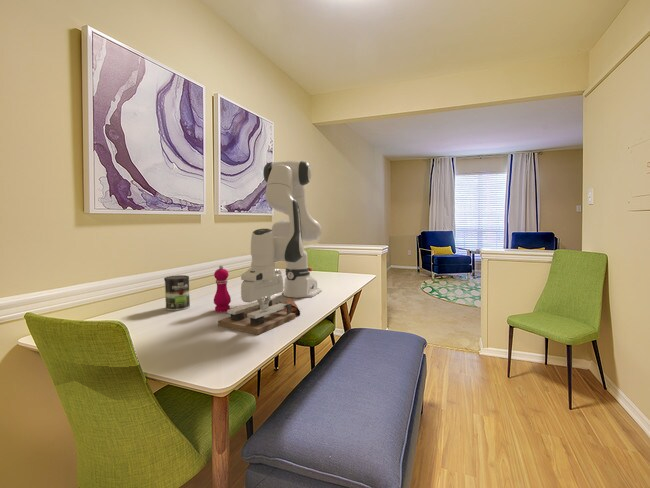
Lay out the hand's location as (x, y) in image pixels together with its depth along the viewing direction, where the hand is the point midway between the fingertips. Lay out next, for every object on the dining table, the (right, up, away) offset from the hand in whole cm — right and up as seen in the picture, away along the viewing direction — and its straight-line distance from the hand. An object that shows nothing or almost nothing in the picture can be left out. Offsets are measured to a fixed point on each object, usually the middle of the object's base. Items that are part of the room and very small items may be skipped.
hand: (264, 308), depth 129 cm
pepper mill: (-22, -5, +22) cm, 31 cm away
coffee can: (-44, -5, +26) cm, 51 cm away
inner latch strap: (-7, -1, +7) cm, 10 cm away
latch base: (-3, -6, +5) cm, 8 cm away
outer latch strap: (+1, -2, +2) cm, 3 cm away
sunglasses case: (+7, -5, +20) cm, 22 cm away
